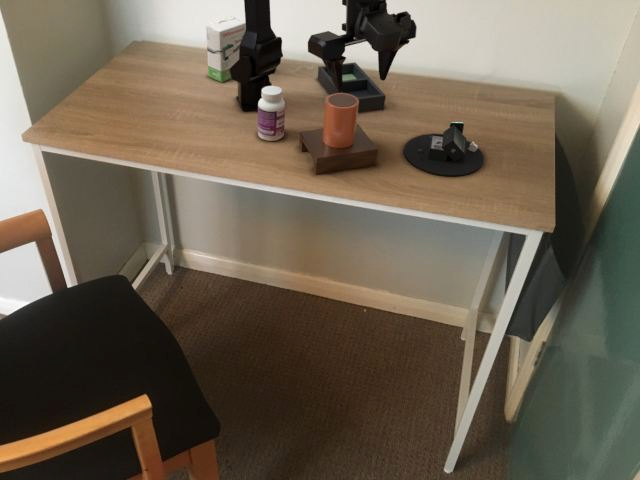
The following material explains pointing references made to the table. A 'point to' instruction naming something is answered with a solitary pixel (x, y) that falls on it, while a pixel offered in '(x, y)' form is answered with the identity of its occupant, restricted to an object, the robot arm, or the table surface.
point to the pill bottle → (271, 114)
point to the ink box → (223, 46)
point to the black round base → (444, 153)
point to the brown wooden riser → (338, 152)
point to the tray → (355, 86)
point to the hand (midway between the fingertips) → (361, 85)
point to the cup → (340, 120)
